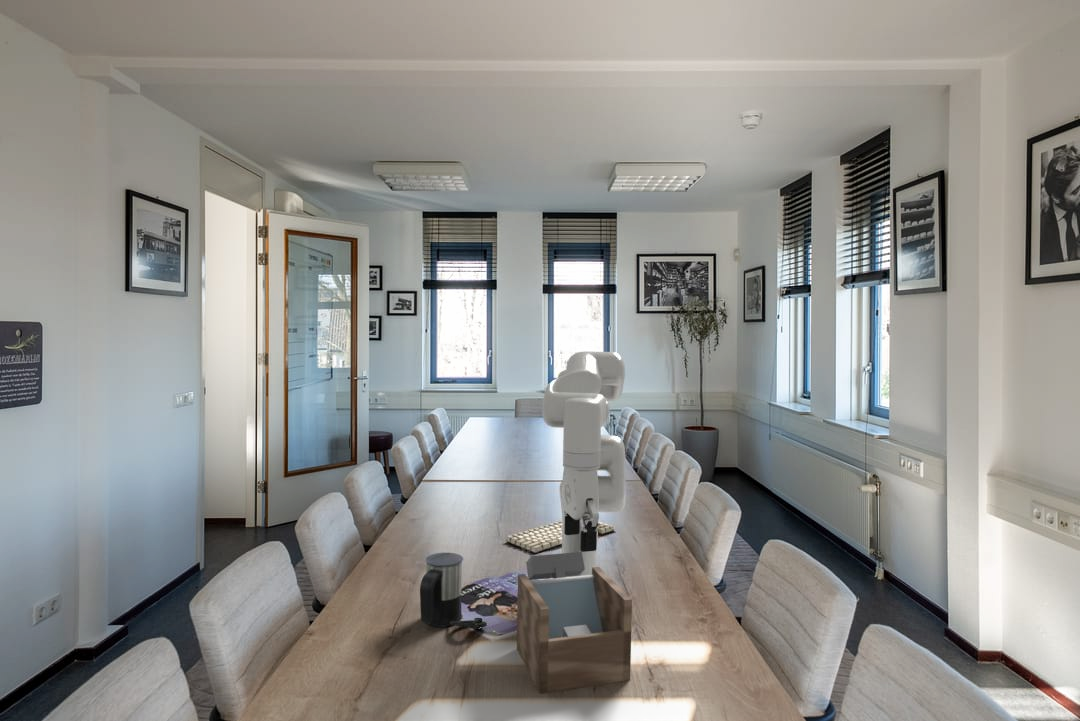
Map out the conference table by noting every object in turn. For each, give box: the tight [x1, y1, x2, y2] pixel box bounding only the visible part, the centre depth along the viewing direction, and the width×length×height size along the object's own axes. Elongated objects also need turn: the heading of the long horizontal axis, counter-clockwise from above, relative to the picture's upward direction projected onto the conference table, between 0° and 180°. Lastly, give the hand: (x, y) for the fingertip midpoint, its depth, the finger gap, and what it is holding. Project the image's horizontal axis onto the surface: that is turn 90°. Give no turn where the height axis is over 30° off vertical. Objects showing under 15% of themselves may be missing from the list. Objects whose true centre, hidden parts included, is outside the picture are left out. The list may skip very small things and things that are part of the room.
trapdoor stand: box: [516, 566, 633, 694], centre depth 132 cm, size 18×19×16 cm
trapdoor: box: [525, 552, 602, 639], centre depth 138 cm, size 20×15×6 cm
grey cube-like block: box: [563, 625, 592, 637], centre depth 128 cm, size 5×5×6 cm
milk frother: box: [419, 552, 488, 630], centre depth 149 cm, size 14×16×15 cm
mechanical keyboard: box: [504, 520, 617, 555], centre depth 215 cm, size 38×19×3 cm, turn 135°
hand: (579, 542), depth 128 cm, fingers open, 9 cm apart
